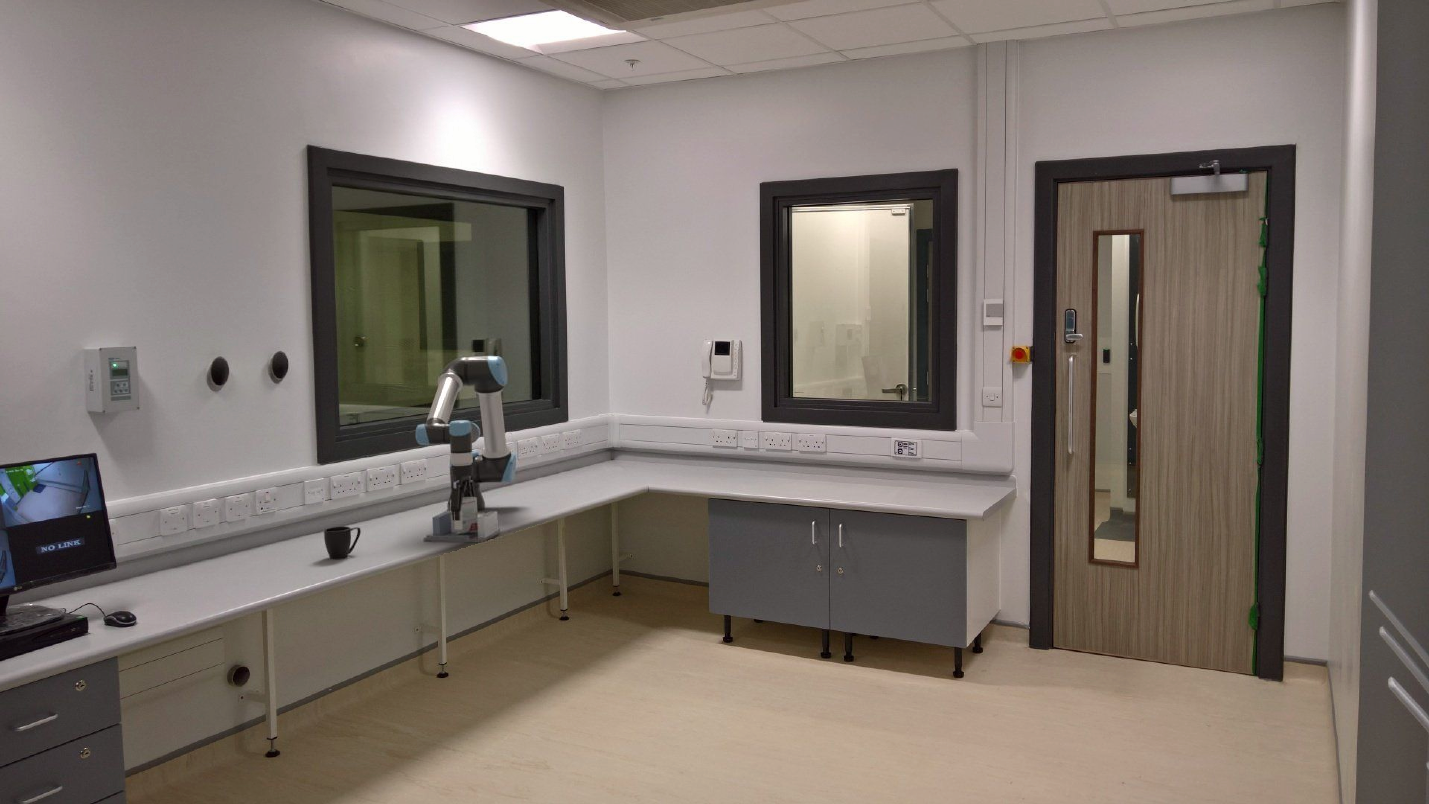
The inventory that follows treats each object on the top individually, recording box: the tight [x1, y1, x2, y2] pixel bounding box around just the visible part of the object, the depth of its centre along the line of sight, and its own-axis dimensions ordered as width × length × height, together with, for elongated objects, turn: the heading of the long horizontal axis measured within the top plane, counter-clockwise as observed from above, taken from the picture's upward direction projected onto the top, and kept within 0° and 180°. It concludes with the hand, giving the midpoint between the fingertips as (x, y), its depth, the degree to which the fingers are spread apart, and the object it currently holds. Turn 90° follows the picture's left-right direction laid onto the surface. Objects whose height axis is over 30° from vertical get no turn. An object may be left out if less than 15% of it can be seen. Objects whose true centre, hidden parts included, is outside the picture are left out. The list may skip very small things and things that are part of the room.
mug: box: [323, 526, 361, 560], centre depth 332 cm, size 8×12×10 cm
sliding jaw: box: [431, 510, 451, 535], centre depth 359 cm, size 12×2×7 cm, turn 170°
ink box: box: [450, 497, 479, 533], centre depth 358 cm, size 9×5×12 cm, turn 141°
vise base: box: [422, 510, 501, 543], centre depth 358 cm, size 16×22×8 cm
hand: (464, 526), depth 358 cm, fingers closed on ink box, 9 cm apart
